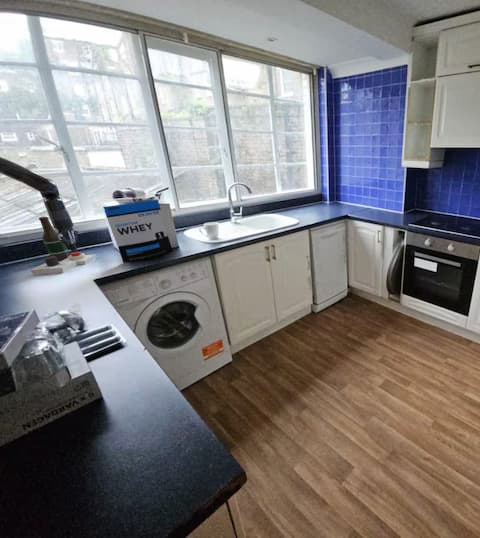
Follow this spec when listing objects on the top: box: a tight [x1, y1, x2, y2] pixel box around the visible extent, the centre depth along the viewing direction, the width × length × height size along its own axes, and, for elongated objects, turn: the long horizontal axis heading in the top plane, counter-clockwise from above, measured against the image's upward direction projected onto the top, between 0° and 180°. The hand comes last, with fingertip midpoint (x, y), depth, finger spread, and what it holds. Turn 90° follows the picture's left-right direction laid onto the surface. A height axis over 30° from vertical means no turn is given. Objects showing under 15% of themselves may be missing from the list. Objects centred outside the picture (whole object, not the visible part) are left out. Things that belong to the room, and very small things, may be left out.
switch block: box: [60, 252, 98, 266], centre depth 159 cm, size 12×10×4 cm
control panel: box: [30, 260, 78, 276], centre depth 149 cm, size 13×10×3 cm
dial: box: [43, 256, 60, 267], centre depth 148 cm, size 4×4×4 cm
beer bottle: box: [38, 216, 71, 262], centre depth 160 cm, size 8×8×24 cm
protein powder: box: [102, 199, 173, 264], centre depth 160 cm, size 10×24×30 cm, turn 140°
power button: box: [70, 251, 81, 257], centre depth 158 cm, size 4×4×2 cm
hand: (74, 250), depth 158 cm, fingers closed
